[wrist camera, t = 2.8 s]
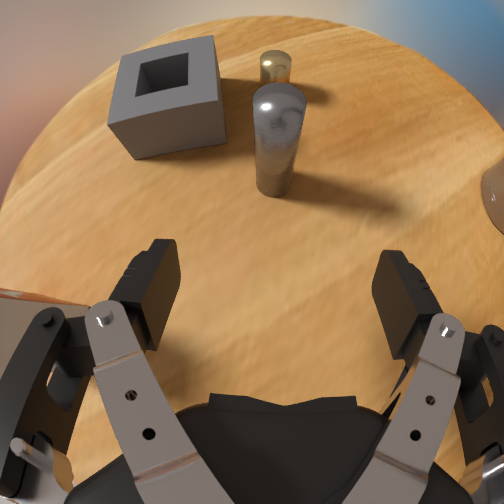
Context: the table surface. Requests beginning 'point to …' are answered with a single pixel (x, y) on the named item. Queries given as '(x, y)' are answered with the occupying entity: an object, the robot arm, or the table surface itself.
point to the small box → (25, 318)
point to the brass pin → (274, 67)
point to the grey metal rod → (276, 135)
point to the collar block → (168, 99)
